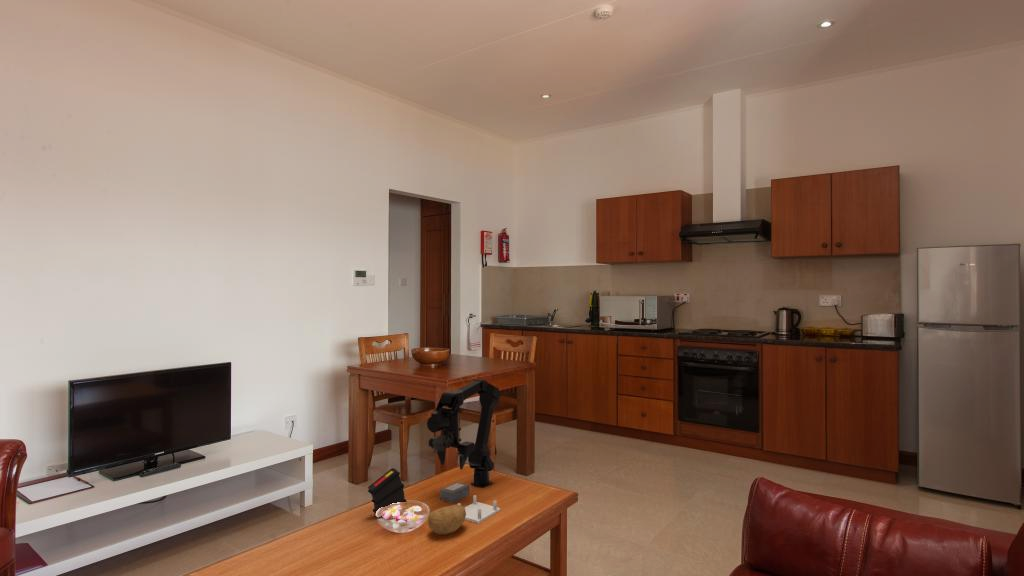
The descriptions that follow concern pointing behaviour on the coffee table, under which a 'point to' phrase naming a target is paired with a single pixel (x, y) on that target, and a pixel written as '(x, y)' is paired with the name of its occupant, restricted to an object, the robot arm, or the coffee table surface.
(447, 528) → the potato
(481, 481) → the robot arm
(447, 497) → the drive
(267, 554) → the coffee table surface
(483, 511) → the white mounting plate
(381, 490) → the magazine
